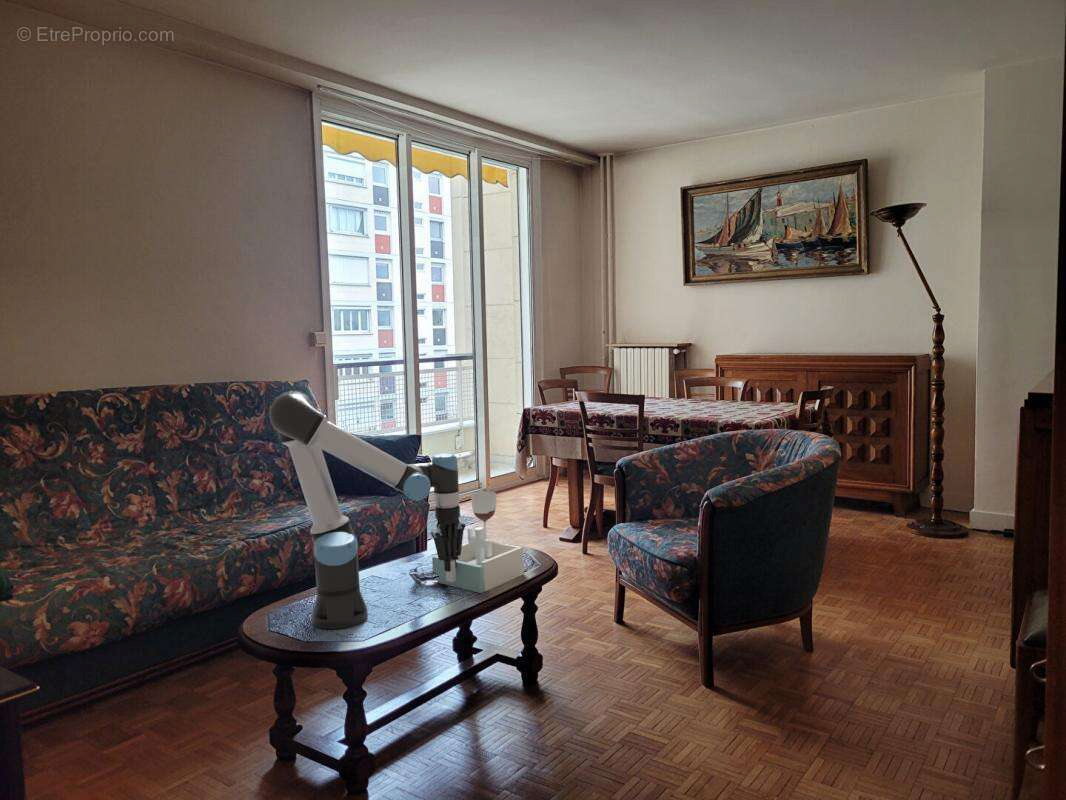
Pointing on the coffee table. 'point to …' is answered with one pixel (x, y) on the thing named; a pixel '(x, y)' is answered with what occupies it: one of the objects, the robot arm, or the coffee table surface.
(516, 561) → the cubby
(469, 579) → the tray
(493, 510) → the wineglass
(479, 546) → the figurine
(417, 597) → the coffee table surface
